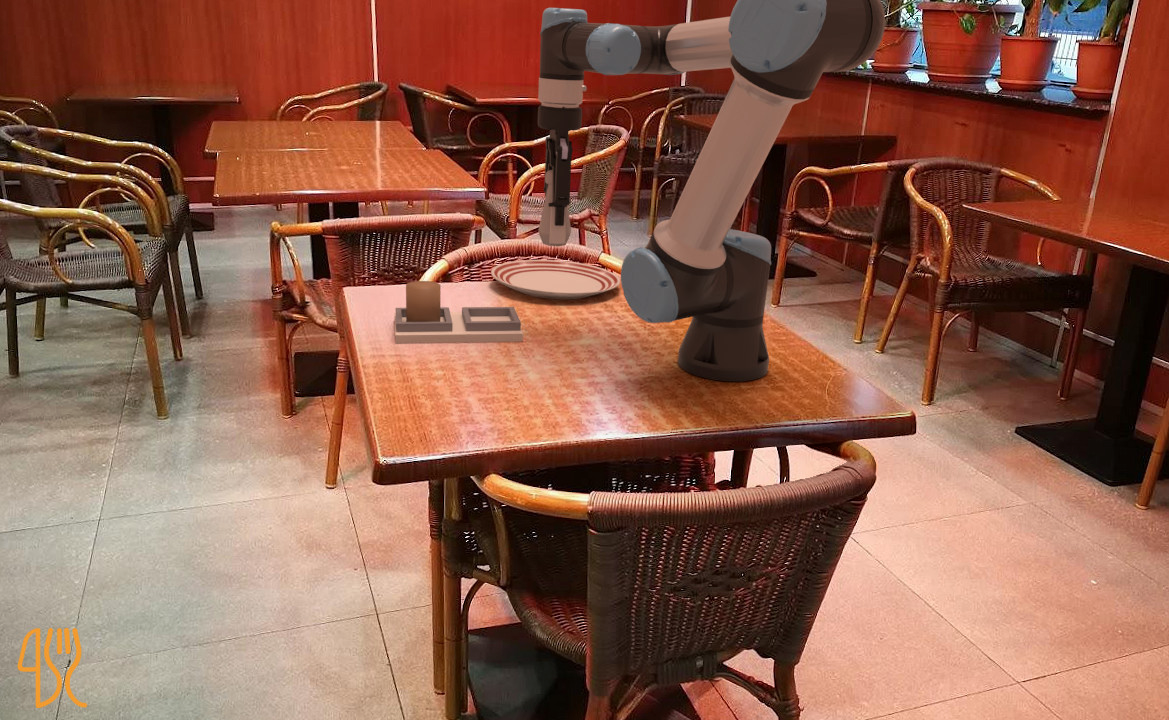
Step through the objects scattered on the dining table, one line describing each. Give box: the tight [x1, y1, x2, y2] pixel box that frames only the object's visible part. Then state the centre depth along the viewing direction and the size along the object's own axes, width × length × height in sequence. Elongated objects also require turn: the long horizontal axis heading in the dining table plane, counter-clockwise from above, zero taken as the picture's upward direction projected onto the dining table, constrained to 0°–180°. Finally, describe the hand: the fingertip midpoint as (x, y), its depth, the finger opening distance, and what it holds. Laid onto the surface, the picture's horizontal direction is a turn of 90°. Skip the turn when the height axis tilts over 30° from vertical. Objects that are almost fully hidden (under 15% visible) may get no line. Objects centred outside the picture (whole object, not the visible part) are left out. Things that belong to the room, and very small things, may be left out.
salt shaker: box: [538, 170, 572, 247], centre depth 167 cm, size 6×6×13 cm
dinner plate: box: [490, 259, 621, 300], centre depth 201 cm, size 27×27×3 cm
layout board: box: [393, 280, 524, 345], centre depth 169 cm, size 13×22×8 cm, turn 101°
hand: (554, 238), depth 168 cm, fingers closed on salt shaker, 6 cm apart
